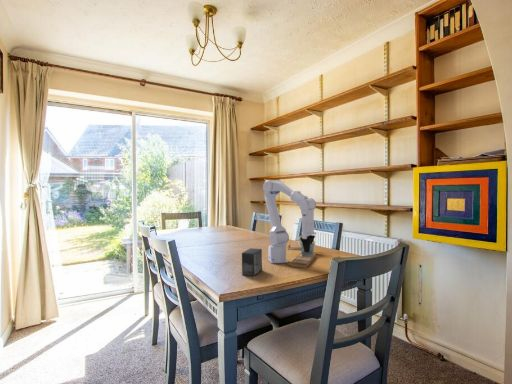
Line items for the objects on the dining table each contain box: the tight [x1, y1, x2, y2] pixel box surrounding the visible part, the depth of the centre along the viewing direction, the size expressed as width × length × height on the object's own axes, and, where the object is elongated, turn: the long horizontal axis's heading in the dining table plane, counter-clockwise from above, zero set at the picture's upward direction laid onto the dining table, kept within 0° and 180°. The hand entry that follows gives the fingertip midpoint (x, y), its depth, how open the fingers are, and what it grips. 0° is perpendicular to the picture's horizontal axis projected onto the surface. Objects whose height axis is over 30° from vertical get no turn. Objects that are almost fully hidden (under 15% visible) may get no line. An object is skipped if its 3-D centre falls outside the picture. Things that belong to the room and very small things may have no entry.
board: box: [290, 252, 316, 269], centre depth 154 cm, size 24×8×2 cm, turn 158°
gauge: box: [287, 243, 315, 257], centre depth 142 cm, size 4×12×6 cm, turn 67°
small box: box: [241, 247, 263, 277], centre depth 135 cm, size 11×6×10 cm, turn 159°
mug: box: [297, 235, 316, 254], centre depth 175 cm, size 8×13×10 cm, turn 127°
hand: (307, 251), depth 141 cm, fingers closed on gauge, 4 cm apart
